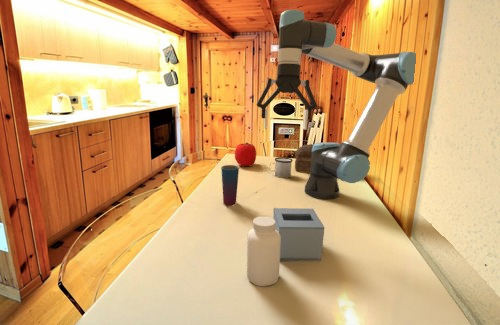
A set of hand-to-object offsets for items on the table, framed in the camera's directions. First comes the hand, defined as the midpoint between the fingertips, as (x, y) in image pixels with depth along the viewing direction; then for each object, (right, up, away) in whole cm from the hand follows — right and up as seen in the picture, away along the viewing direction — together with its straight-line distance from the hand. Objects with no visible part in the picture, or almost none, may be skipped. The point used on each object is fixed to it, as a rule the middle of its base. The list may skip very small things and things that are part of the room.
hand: (285, 128), depth 98 cm
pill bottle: (-9, -40, -28) cm, 50 cm away
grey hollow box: (+1, -37, -15) cm, 40 cm away
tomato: (-15, -13, +73) cm, 76 cm away
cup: (-20, -28, +16) cm, 38 cm away
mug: (+4, -19, +55) cm, 58 cm away
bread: (+29, -17, +65) cm, 73 cm away
